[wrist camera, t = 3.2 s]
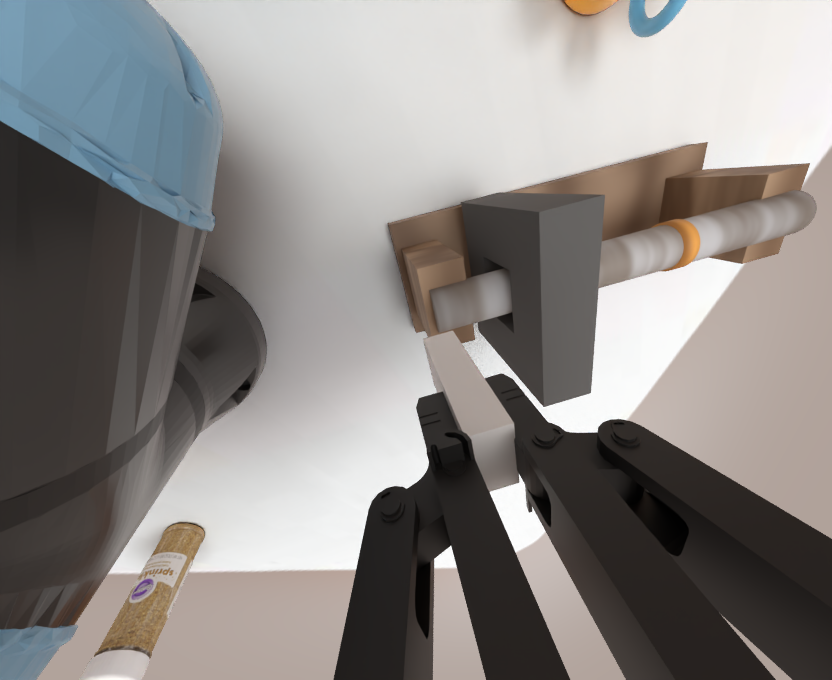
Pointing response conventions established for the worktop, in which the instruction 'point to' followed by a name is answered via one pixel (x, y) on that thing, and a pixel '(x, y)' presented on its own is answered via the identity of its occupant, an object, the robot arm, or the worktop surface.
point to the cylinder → (632, 13)
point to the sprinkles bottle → (146, 608)
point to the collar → (541, 284)
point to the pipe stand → (612, 231)
